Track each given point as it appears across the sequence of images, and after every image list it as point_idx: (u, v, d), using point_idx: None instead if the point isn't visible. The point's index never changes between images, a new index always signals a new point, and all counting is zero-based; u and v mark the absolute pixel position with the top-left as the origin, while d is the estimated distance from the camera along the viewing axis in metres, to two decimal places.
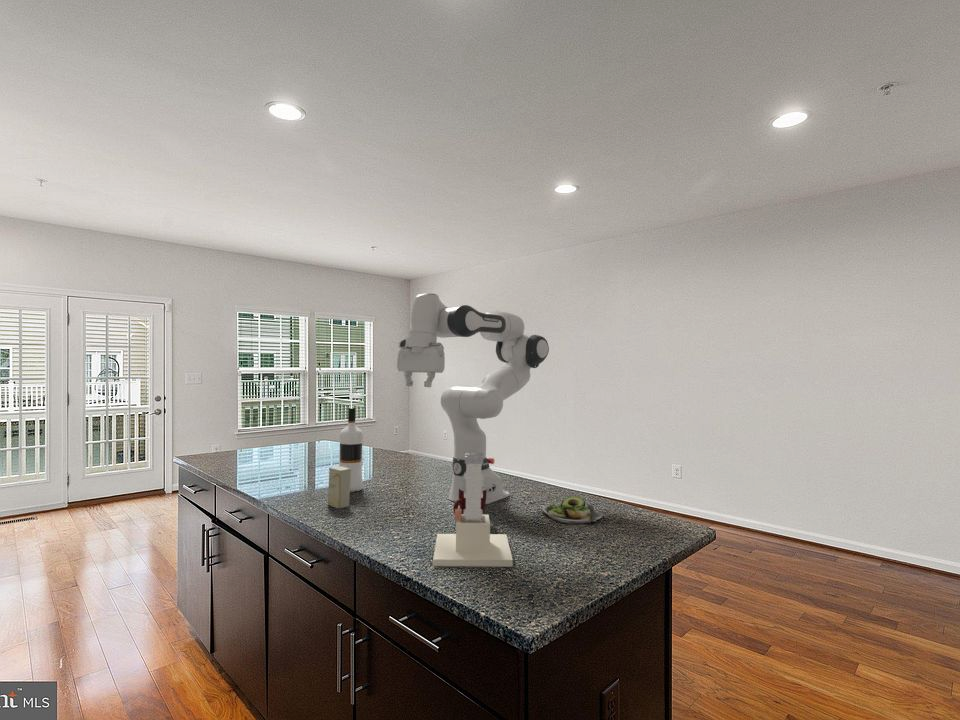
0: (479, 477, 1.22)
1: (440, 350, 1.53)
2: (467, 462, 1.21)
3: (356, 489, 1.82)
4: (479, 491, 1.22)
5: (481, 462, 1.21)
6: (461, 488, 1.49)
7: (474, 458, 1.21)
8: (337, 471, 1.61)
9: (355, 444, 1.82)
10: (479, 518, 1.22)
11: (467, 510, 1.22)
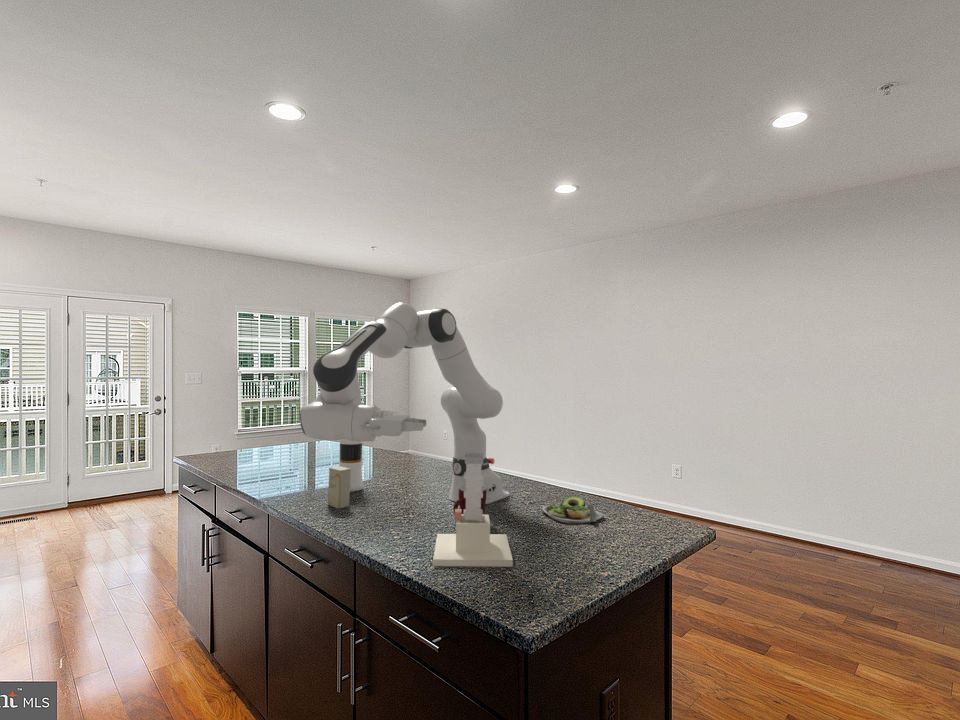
0: (479, 477, 1.22)
1: (370, 429, 1.14)
2: (467, 462, 1.21)
3: (356, 489, 1.82)
4: (479, 491, 1.22)
5: (481, 462, 1.21)
6: (461, 488, 1.49)
7: (474, 458, 1.21)
8: (337, 471, 1.61)
9: (355, 444, 1.82)
10: (479, 518, 1.22)
11: (467, 510, 1.22)
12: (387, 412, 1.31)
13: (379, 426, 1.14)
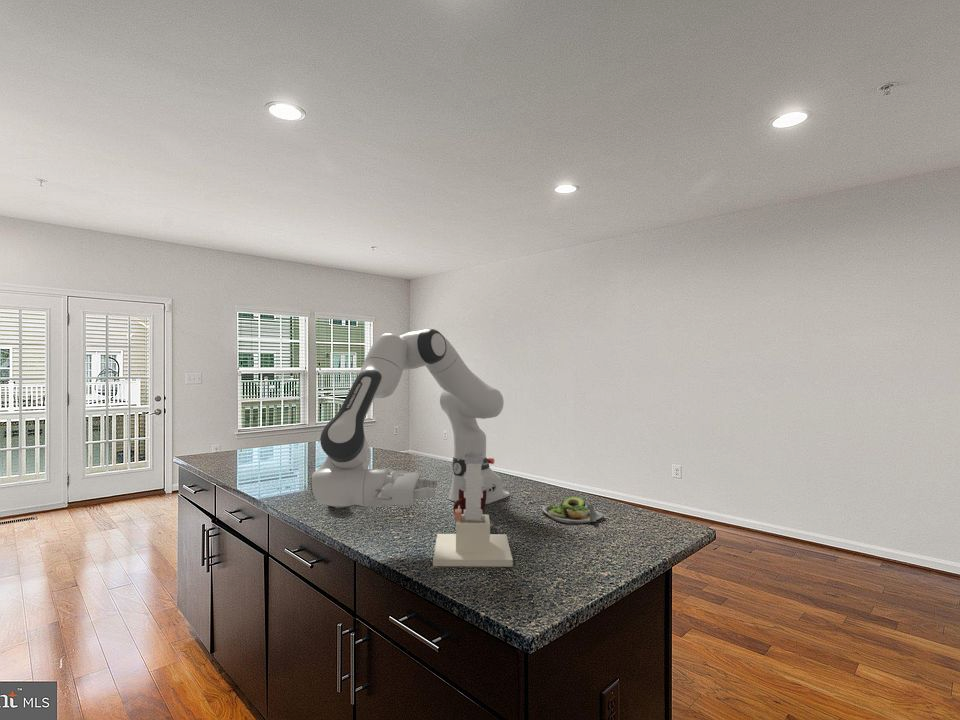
0: (479, 477, 1.22)
1: None
2: (467, 462, 1.21)
3: None
4: (479, 491, 1.22)
5: (481, 462, 1.21)
6: (461, 488, 1.49)
7: (474, 458, 1.21)
8: None
9: None
10: (479, 518, 1.22)
11: (467, 510, 1.22)
12: (397, 472, 1.31)
13: (391, 497, 1.14)
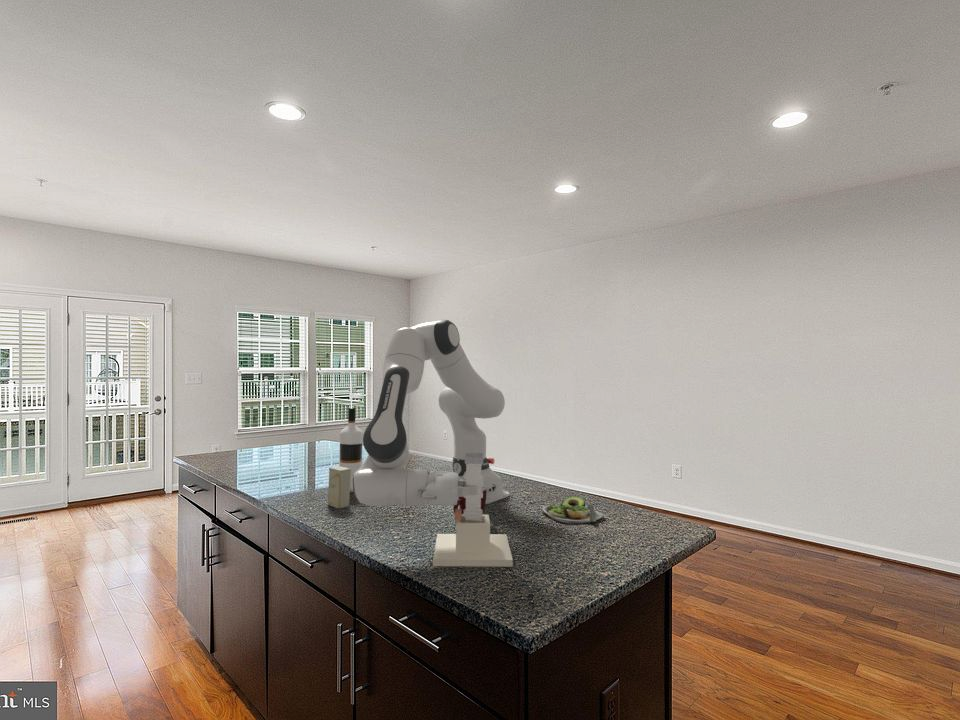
0: (479, 477, 1.22)
1: None
2: (467, 462, 1.21)
3: None
4: (479, 491, 1.22)
5: (481, 462, 1.21)
6: None
7: (474, 458, 1.21)
8: (337, 471, 1.61)
9: (355, 444, 1.82)
10: (479, 518, 1.22)
11: (467, 510, 1.22)
12: (436, 472, 1.31)
13: (436, 496, 1.14)
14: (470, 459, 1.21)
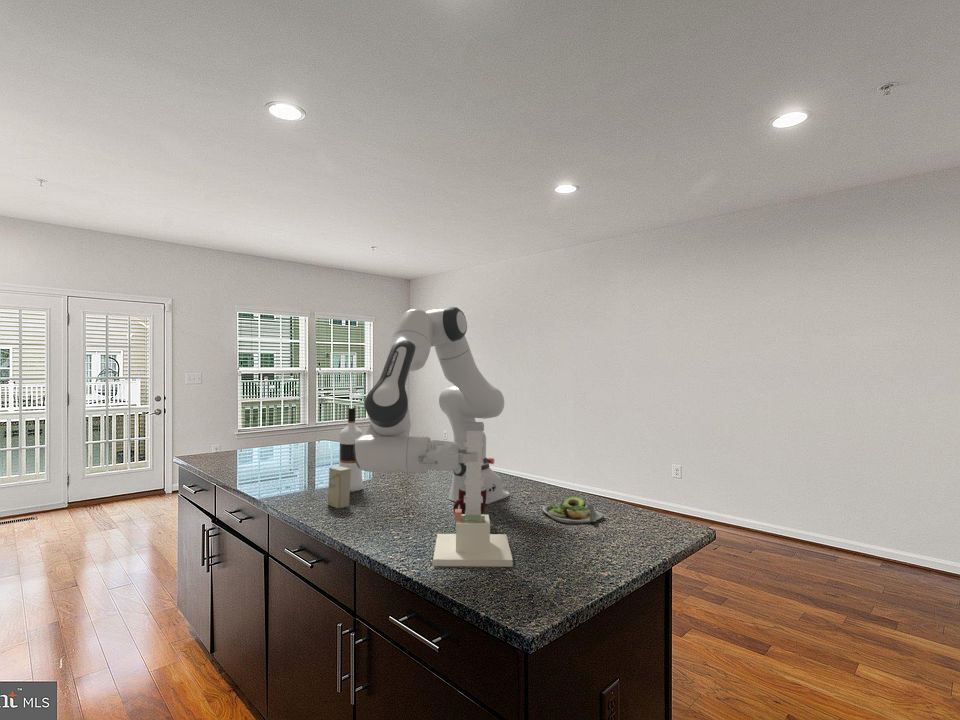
0: (480, 444, 1.22)
1: None
2: (468, 429, 1.21)
3: (356, 489, 1.82)
4: (480, 458, 1.22)
5: (482, 429, 1.21)
6: (461, 488, 1.49)
7: (475, 425, 1.21)
8: (337, 471, 1.61)
9: None
10: (480, 485, 1.22)
11: (468, 477, 1.22)
12: (437, 442, 1.31)
13: (436, 461, 1.14)
14: (471, 426, 1.21)
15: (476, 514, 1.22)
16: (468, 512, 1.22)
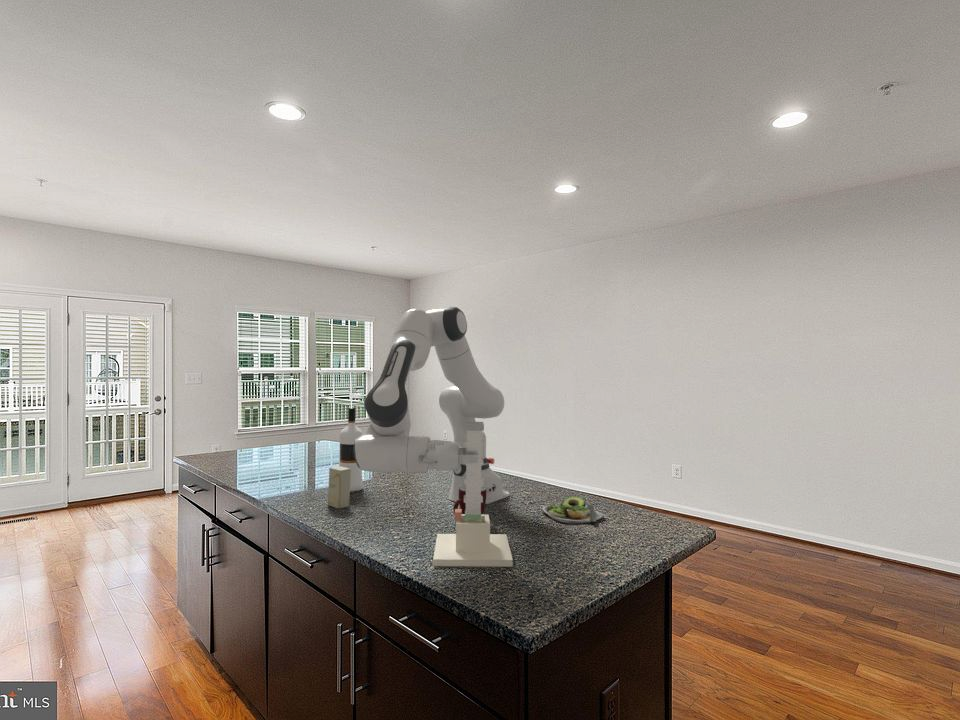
0: (480, 444, 1.22)
1: None
2: (468, 429, 1.21)
3: (356, 489, 1.82)
4: (480, 458, 1.22)
5: (482, 429, 1.21)
6: (461, 488, 1.49)
7: (475, 425, 1.21)
8: (337, 471, 1.61)
9: None
10: (480, 485, 1.22)
11: (468, 477, 1.22)
12: (437, 441, 1.31)
13: (437, 461, 1.14)
14: (471, 426, 1.21)
15: (476, 514, 1.22)
16: (468, 512, 1.22)
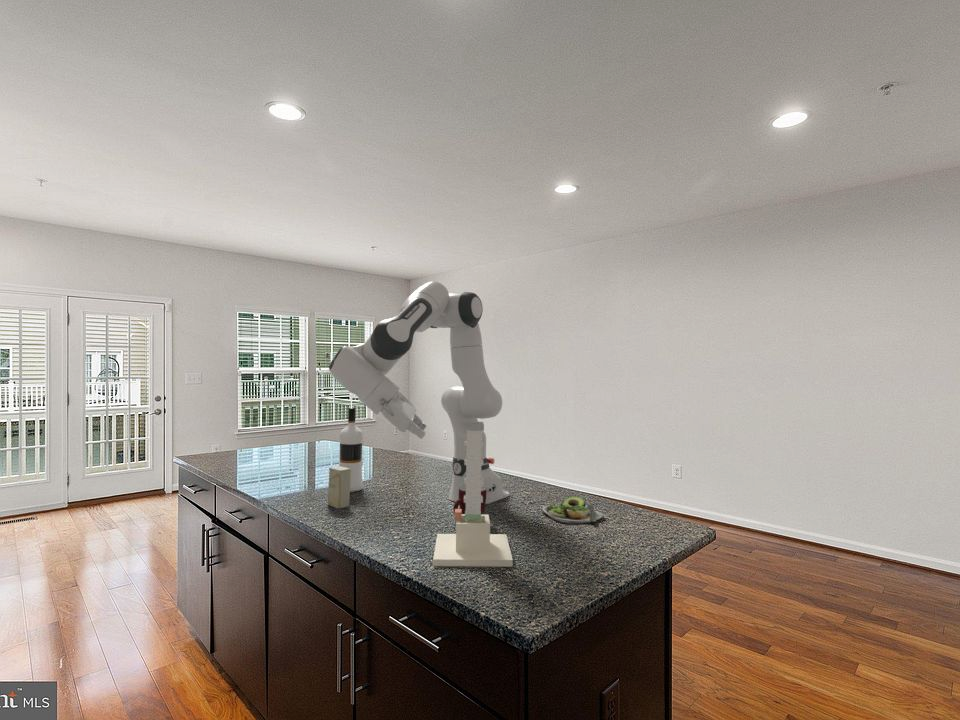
0: (480, 444, 1.22)
1: None
2: (468, 429, 1.21)
3: (356, 489, 1.82)
4: (480, 458, 1.22)
5: (482, 429, 1.21)
6: (461, 488, 1.49)
7: (475, 425, 1.21)
8: (337, 471, 1.61)
9: (355, 444, 1.82)
10: (480, 485, 1.22)
11: (468, 477, 1.22)
12: (401, 395, 1.37)
13: (393, 414, 1.20)
14: (471, 426, 1.21)
15: (476, 514, 1.22)
16: (468, 512, 1.22)
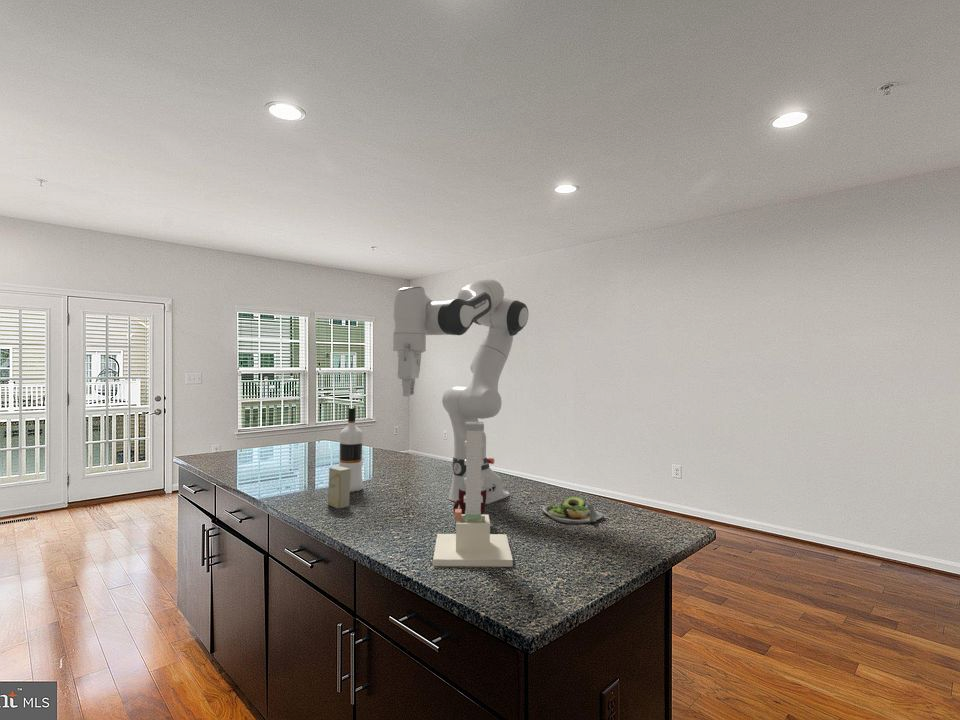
0: (480, 444, 1.22)
1: None
2: (468, 429, 1.21)
3: (356, 489, 1.82)
4: (480, 458, 1.22)
5: (482, 429, 1.21)
6: (461, 488, 1.49)
7: (475, 425, 1.21)
8: (337, 471, 1.61)
9: (355, 444, 1.82)
10: (480, 485, 1.22)
11: (468, 477, 1.22)
12: (419, 358, 1.46)
13: (405, 360, 1.29)
14: (471, 426, 1.21)
15: (476, 514, 1.22)
16: (468, 512, 1.22)
